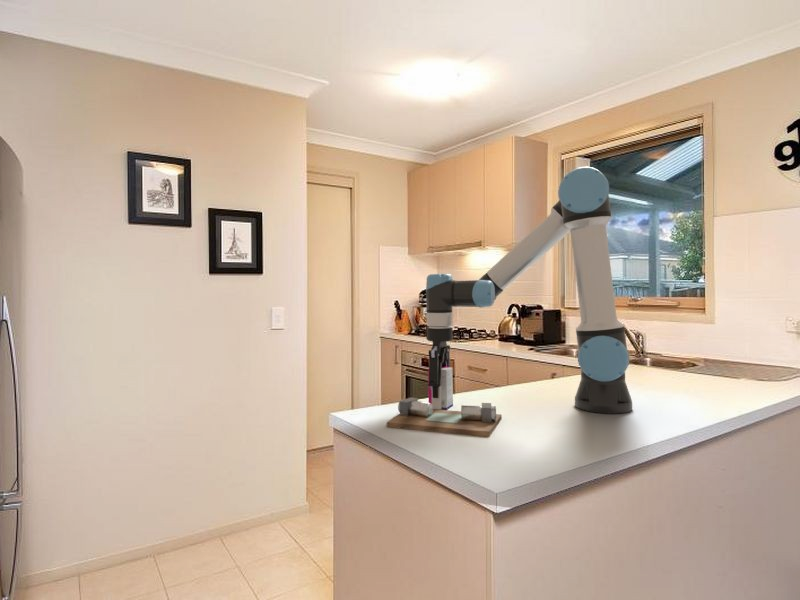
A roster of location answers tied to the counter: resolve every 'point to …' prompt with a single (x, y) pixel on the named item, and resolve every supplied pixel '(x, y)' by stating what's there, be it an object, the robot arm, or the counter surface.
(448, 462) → the counter surface
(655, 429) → the counter surface
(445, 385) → the supplement box
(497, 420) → the board
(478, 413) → the grey collared shaft
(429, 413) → the shaft
